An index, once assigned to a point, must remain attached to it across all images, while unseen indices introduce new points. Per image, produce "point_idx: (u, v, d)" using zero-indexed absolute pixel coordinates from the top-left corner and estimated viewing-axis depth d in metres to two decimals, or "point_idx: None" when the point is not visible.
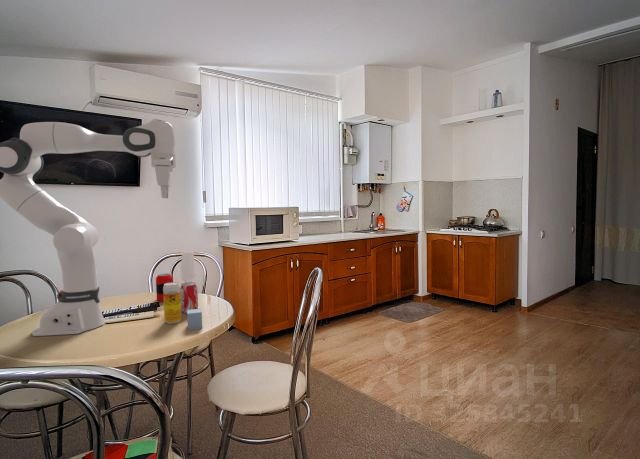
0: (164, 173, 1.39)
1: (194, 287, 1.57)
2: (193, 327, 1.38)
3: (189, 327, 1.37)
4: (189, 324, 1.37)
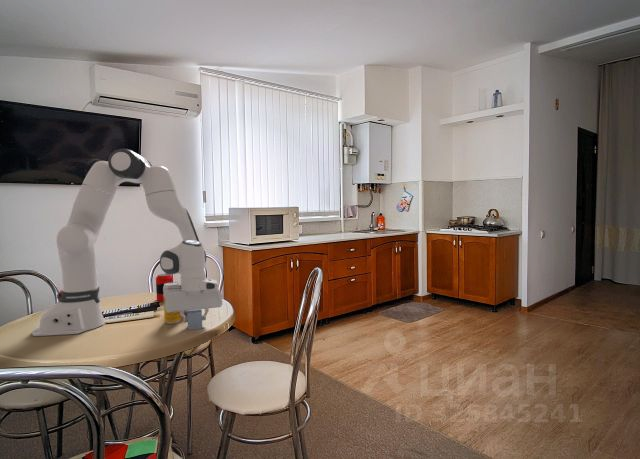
0: None
1: None
2: (193, 327, 1.38)
3: (189, 327, 1.37)
4: (189, 324, 1.37)
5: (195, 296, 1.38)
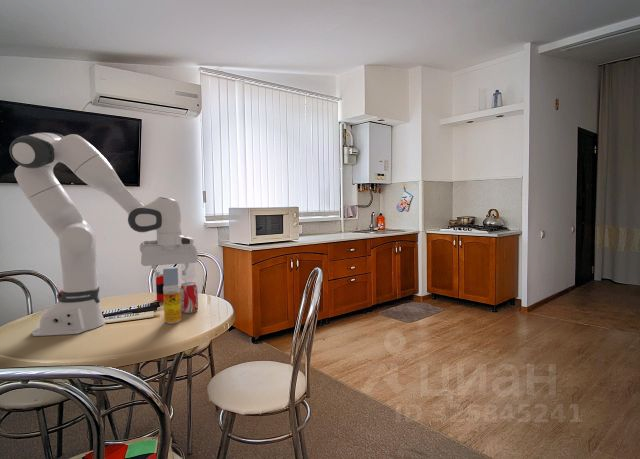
0: (196, 250, 1.48)
1: (194, 287, 1.57)
2: (169, 283, 1.43)
3: (165, 283, 1.42)
4: (165, 280, 1.42)
5: (171, 251, 1.43)
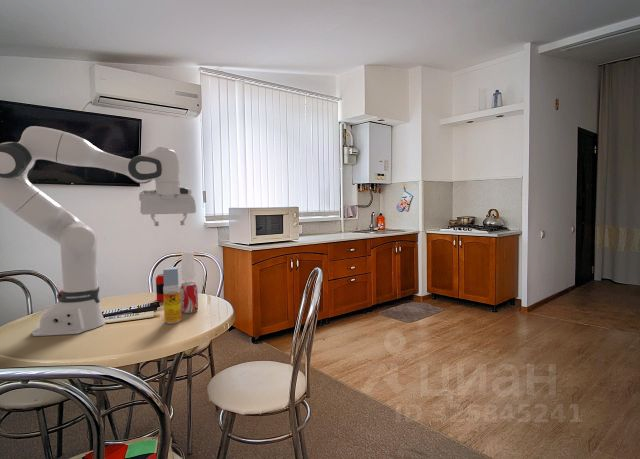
0: None
1: (194, 287, 1.57)
2: (169, 283, 1.43)
3: (165, 283, 1.42)
4: (165, 280, 1.42)
5: (169, 201, 1.46)
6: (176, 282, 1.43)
